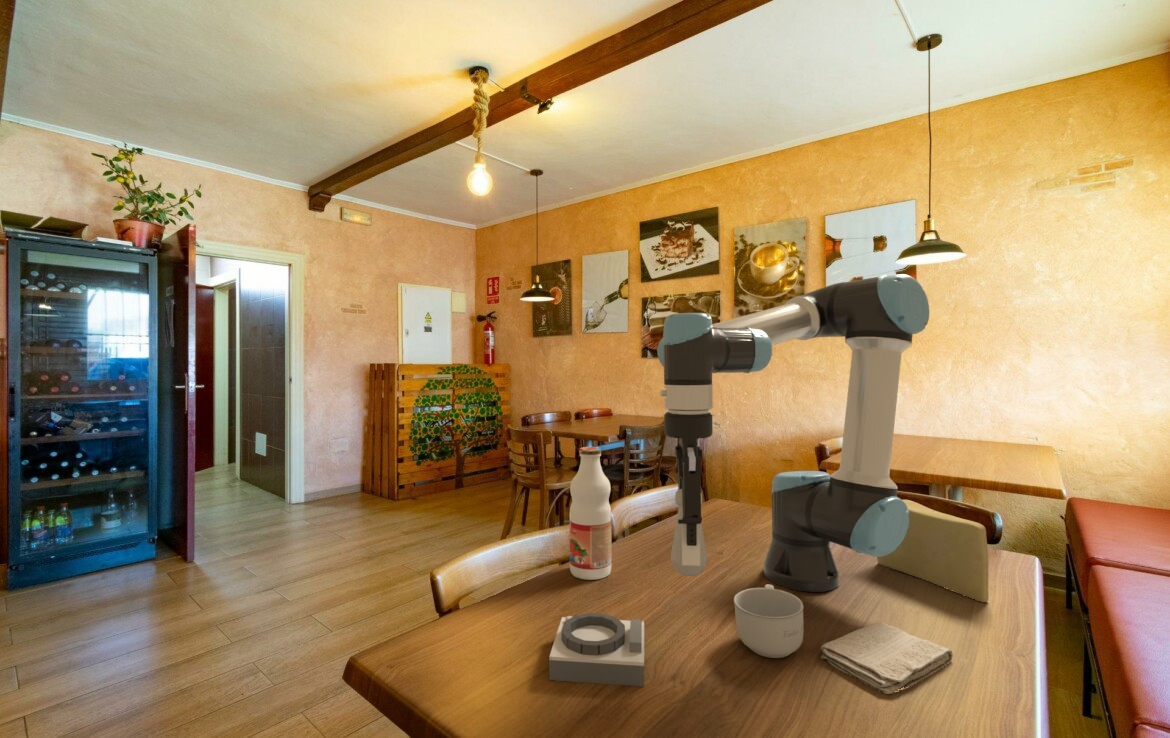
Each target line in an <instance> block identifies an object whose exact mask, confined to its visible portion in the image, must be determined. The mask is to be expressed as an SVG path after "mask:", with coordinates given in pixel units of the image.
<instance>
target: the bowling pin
mask: <svg viewBox="0 0 1170 738" xmlns="http://www.w3.org/2000/svg"><path fill="white" fill-rule="evenodd" d="M674 502H675V505H677V506H678V505H679V506H678V509H677V516H676V523H675V528H674V534H673V539H672V547H671V552H670V559H671V562H672V565H673V567H674V570H675V571H676V572H677V573H678V574H679V575H681V576H685V577H697V576H700V575H702V574H703V573H704V570H705V568H706V566H707V564H708V552H707V548H706V547H707V546H706V543H705V535H704V532H703V531H704V530H703V525H702V522H701V523H700V566H691V565H682V524H678V519H682V518H683V504H682V489H679V490H678V489H677V490H676V491H675V496H674ZM702 505H703V495H702V493H701V506H702Z"/></svg>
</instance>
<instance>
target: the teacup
mask: <svg viewBox="0 0 1170 738" xmlns="http://www.w3.org/2000/svg"><path fill="white" fill-rule="evenodd" d="M733 604H734V613H735V615H734V616H735V624H736V631H737V634H738V637H739V639H740V641H741V642H742V643H743V644H744V645H745V646H747V647H748V648H749V649H750V650H751V651H752V652H754V653H755V654H757V655H759V656H760V657H761V656H762V657H765V658H770V659H781V658H785V657H787V656H789V655H791V654H792V653H795V652H796V651H797V650H798V649H799V648H800V646H802V644H803V639H804V608H805V607H804V604H803V601H802V600H801V599H800V598H799V597H798V596H796V595H795V594H793V593H790V592H789V591H785V590H782V589H776V588H775V587H774V585H773V584H765V585H764V587H751V588H747V589H743V590H740V591H739V592H737V593H736V594H735V595H734V597H733Z"/></svg>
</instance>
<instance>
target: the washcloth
mask: <svg viewBox="0 0 1170 738" xmlns="http://www.w3.org/2000/svg"><path fill="white" fill-rule="evenodd" d="M820 651H821V652H822V655H820V659H822V660H825V661H827V662H828V663H829V664H830V665H831V666H832V667H834V668H835V669H837V670H839V671H841V672H842V671H843V673H845V674H846V673H847V675H848V674H849V675H848V676H851V677H852V676H854V677H856V678H858V679H859V680H858V679H857V680H858V681H860V680H861V681H863V682H864V683H863V682H862V683H863V684H865V683H866V684H865V685H867V684H868V685H870V686H871V688H872V687H874V688H876V689H878V690H879V691H878V690H877V691H878V692H880V691H882V692H883V694H885V695H889V694H890V695H891V694H896V693H895V691H898V689H901V688H903V687H904V688H906V687H908V686H911V687H913V686H914V684H915V685H916V684H918V683H920V682H921V681H923V680H925V679H927V678H928V677H930V676H931V675H933V674H934V672H935V673H936V672H938V671H940V670H941V669H943V668H945V667H946V666H948V665H949V664H950V663H951V662H952V661H953V655H954V654H953V650H952V649H949V648H948V647H945V646H943V645H939V644H938V643H935V642H932V641H930V640H929V639H923V638H919V637H918V636H915V635H912V634H909V633H908V632H907V631H904V630H902V629H900V628H898V627H896V626H892V625H891V624H887V623H885V622H882V621H877V622H874V623H873V622H872V623H871V624H869V625H867V626H864V627H862V628H859V629H856V630H853V631H852V632H849V633H847V634H846V633H845V635H842V636H841V637H838V638H836V639H833V640H831V641H828V642H825V643H822V645H821V646H820ZM947 664H948V665H947ZM944 666H945V667H944ZM940 668H941V669H940ZM937 670H938V671H937ZM929 675H930V676H929ZM854 677H853V678H854ZM926 677H927V678H926ZM856 678H855V679H856ZM924 678H925V679H924ZM922 679H923V680H922ZM920 680H921V681H920ZM861 681H860V682H861ZM919 681H920V682H919ZM917 682H918V683H917ZM868 685H867V686H868ZM912 685H913V686H912ZM870 686H869V687H870ZM874 688H873V689H874ZM876 689H875V690H876ZM882 692H881V693H882ZM893 692H894V693H893Z"/></svg>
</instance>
